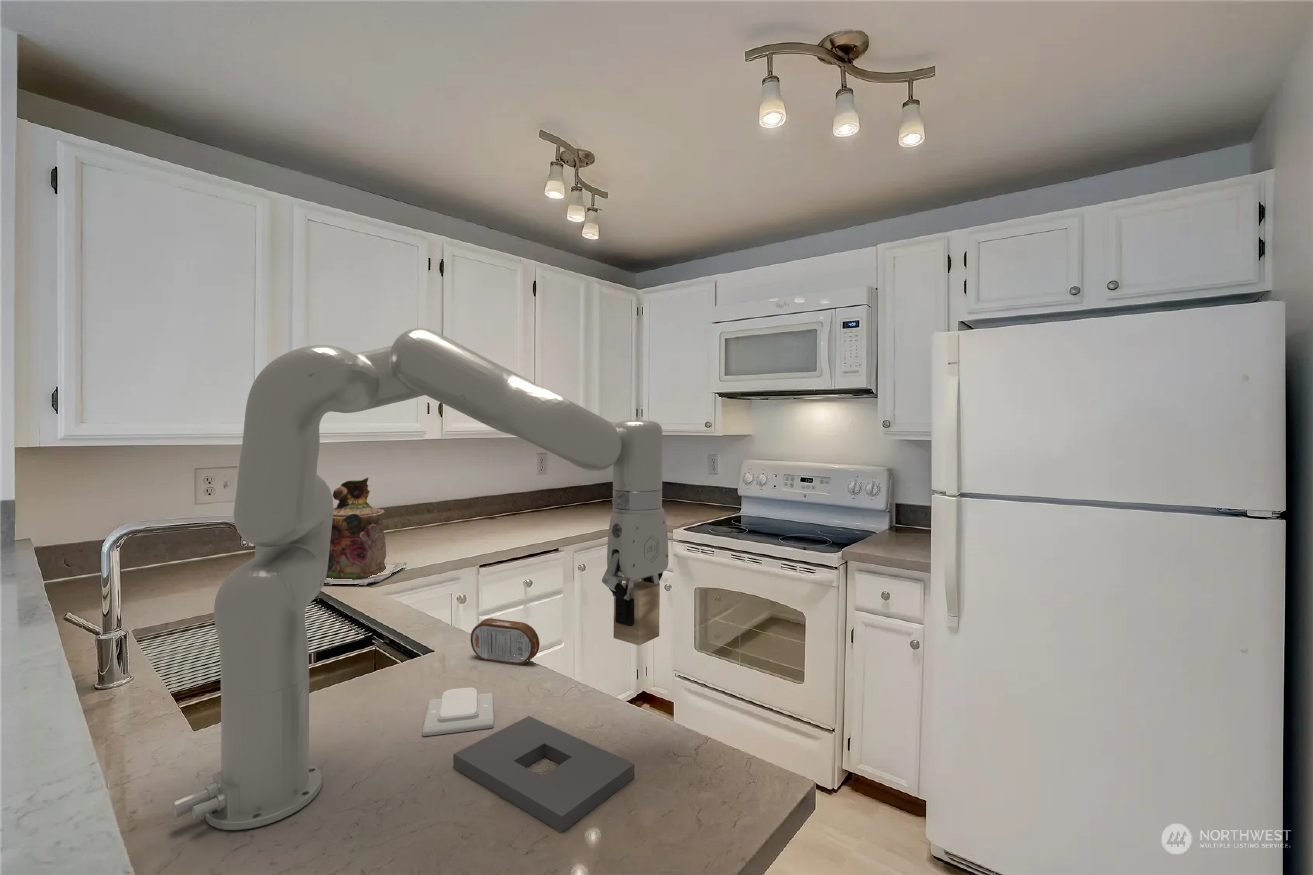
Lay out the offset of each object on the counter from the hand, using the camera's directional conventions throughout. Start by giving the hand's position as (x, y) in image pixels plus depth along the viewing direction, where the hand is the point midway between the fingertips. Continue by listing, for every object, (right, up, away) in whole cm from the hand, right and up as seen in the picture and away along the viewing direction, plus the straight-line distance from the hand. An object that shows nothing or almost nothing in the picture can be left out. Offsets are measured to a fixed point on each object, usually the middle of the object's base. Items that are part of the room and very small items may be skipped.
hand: (636, 617), depth 90 cm
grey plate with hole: (-13, -20, -7) cm, 25 cm away
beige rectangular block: (0, -3, 0) cm, 3 cm away
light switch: (-30, -20, +10) cm, 38 cm away
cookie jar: (-94, -17, +98) cm, 137 cm away
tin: (-29, -19, +32) cm, 47 cm away
